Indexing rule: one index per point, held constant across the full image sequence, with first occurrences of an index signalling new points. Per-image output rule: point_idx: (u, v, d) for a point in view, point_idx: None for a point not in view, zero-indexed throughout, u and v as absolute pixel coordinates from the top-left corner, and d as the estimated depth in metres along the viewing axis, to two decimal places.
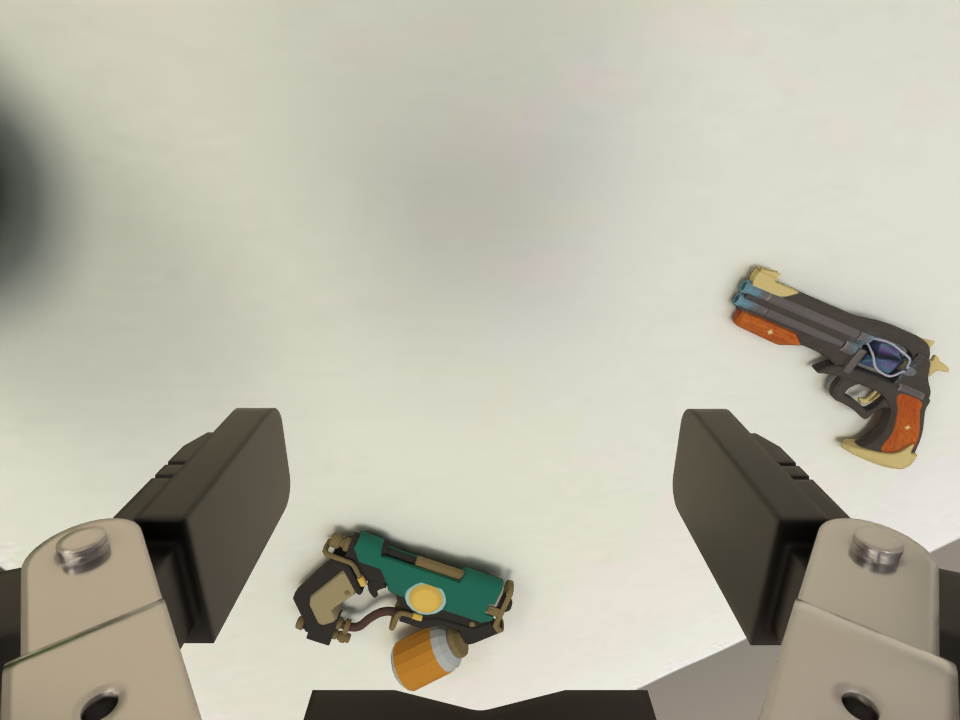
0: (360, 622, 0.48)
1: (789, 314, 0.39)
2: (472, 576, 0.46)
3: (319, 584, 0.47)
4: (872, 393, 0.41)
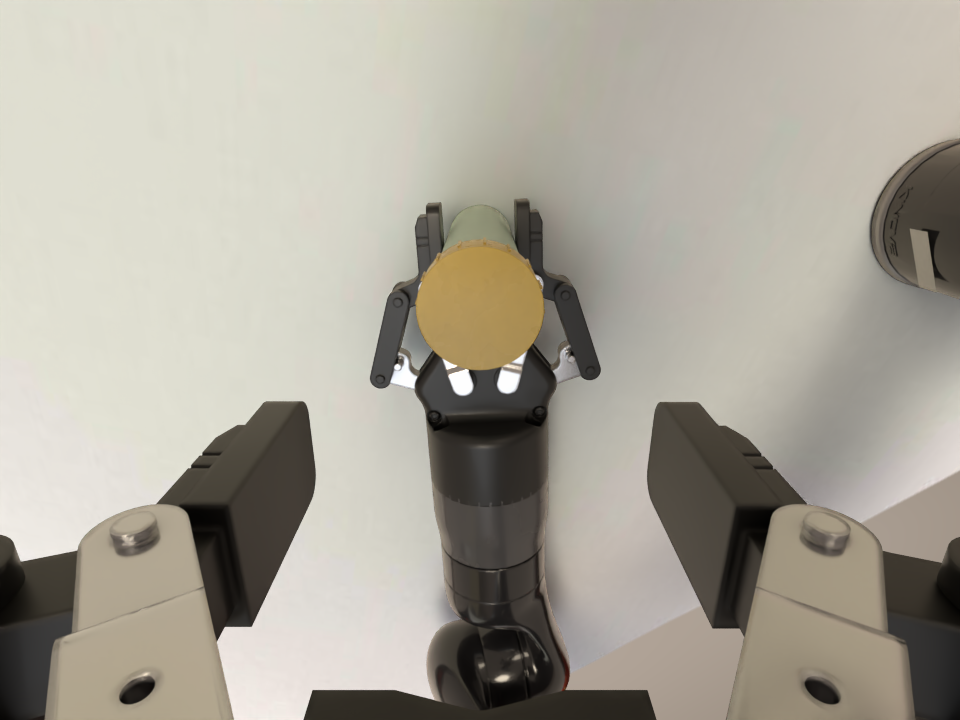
0: None
1: None
2: None
3: None
4: None
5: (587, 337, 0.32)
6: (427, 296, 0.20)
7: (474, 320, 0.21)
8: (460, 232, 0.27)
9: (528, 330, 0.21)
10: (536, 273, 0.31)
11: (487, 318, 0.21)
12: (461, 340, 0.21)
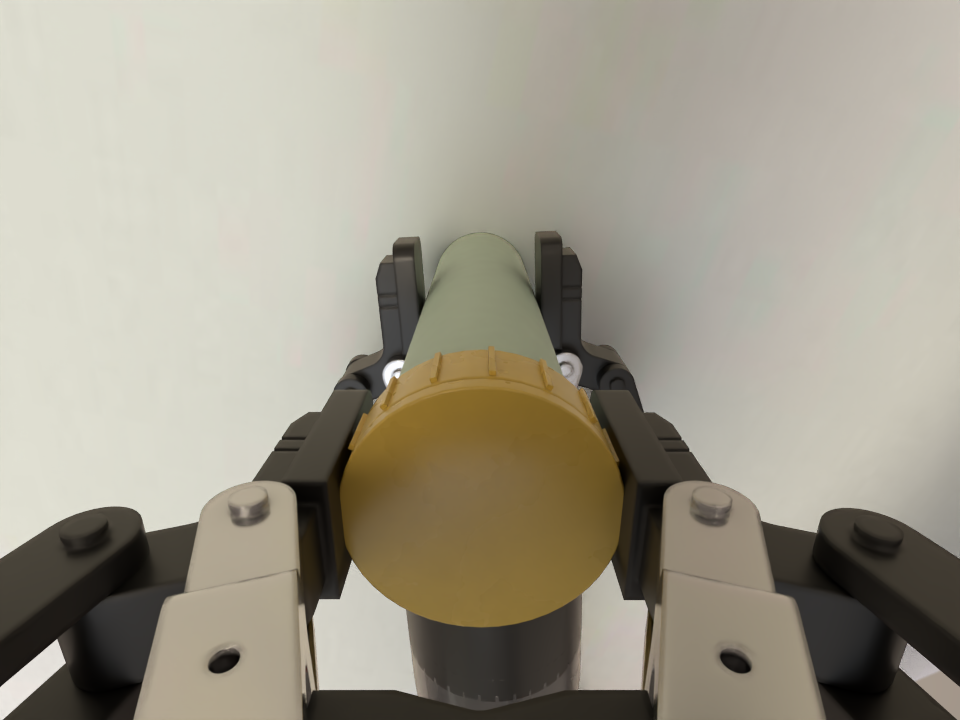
0: None
1: None
2: None
3: None
4: None
5: None
6: (362, 490, 0.09)
7: (469, 536, 0.09)
8: (446, 298, 0.15)
9: (588, 555, 0.09)
10: (570, 350, 0.19)
11: (498, 532, 0.09)
12: (440, 574, 0.10)
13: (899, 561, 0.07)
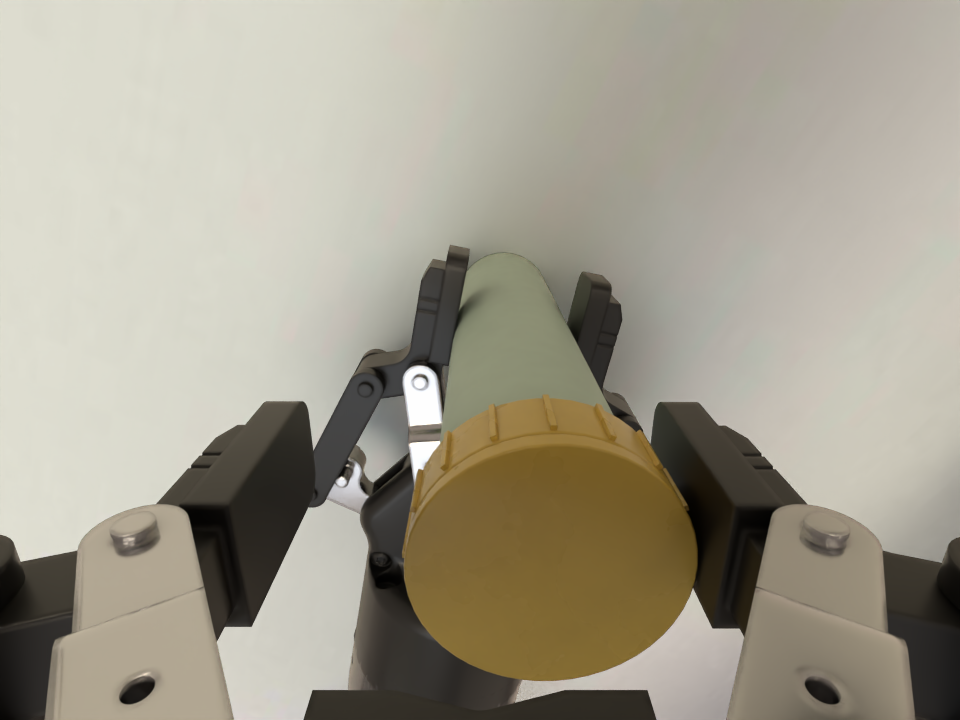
0: None
1: None
2: None
3: None
4: None
5: None
6: (447, 626, 0.09)
7: (558, 592, 0.09)
8: (503, 322, 0.15)
9: (665, 528, 0.09)
10: None
11: (575, 572, 0.09)
12: (571, 635, 0.09)
13: None
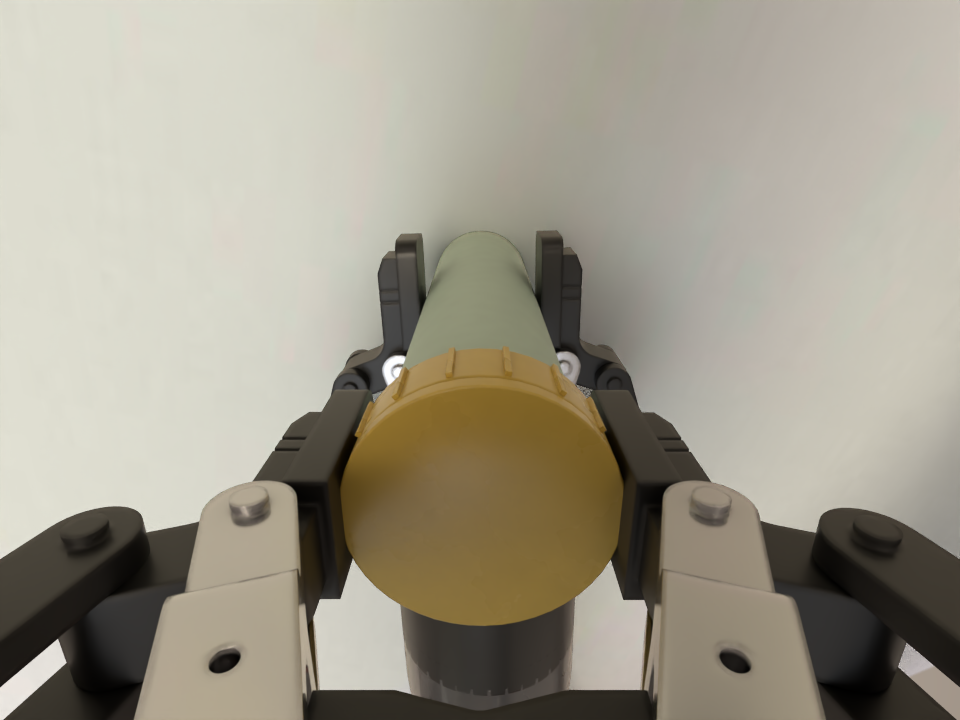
0: None
1: None
2: None
3: None
4: None
5: None
6: (401, 585, 0.10)
7: (495, 534, 0.09)
8: (448, 294, 0.15)
9: (579, 451, 0.09)
10: (569, 348, 0.19)
11: (505, 511, 0.09)
12: (521, 573, 0.10)
13: (898, 561, 0.07)
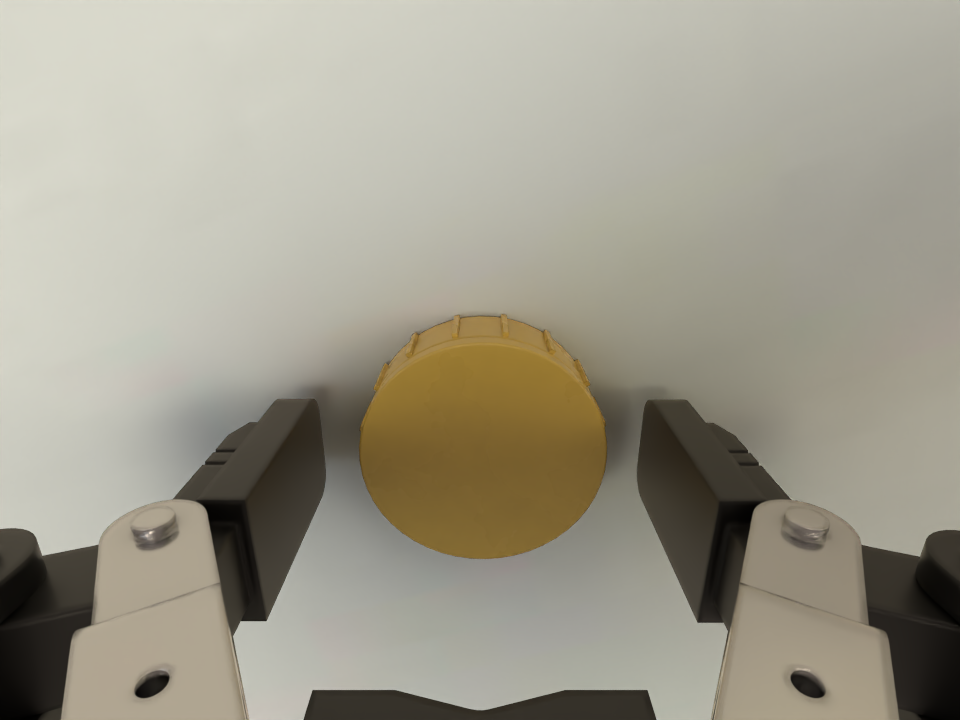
0: None
1: None
2: None
3: None
4: None
5: None
6: (412, 521, 0.11)
7: (494, 475, 0.11)
8: None
9: (566, 401, 0.10)
10: None
11: (503, 455, 0.11)
12: (516, 510, 0.11)
13: None
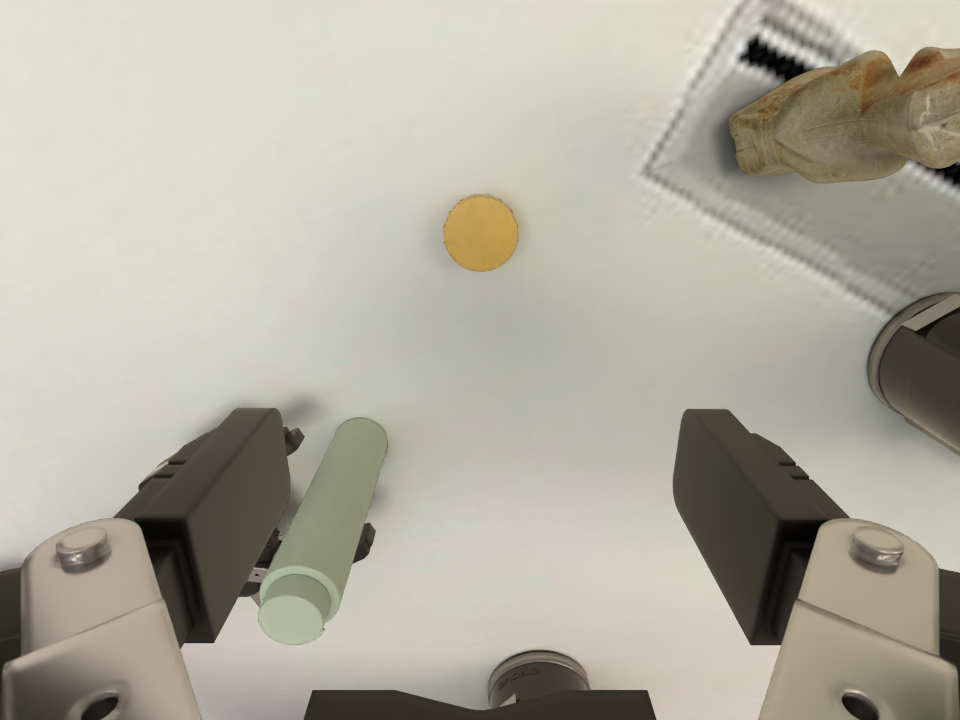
0: None
1: None
2: None
3: None
4: None
5: None
6: (459, 257, 0.36)
7: (484, 240, 0.36)
8: (344, 507, 0.33)
9: (504, 215, 0.35)
10: None
11: (486, 233, 0.36)
12: (491, 253, 0.36)
13: None
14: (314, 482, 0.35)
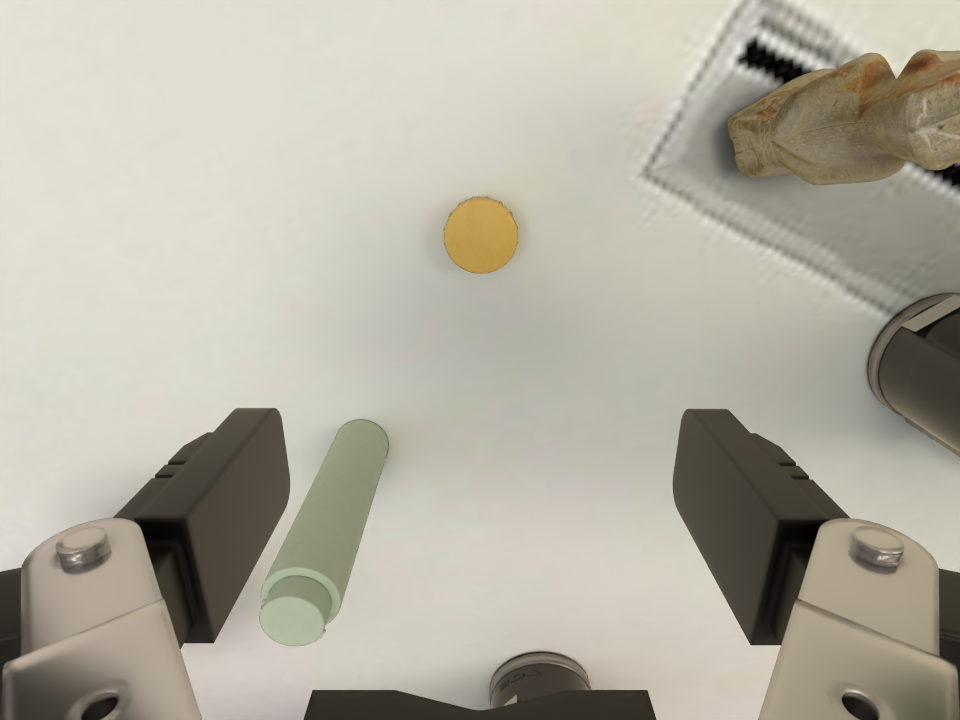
0: None
1: None
2: None
3: None
4: None
5: None
6: (459, 259, 0.37)
7: (484, 243, 0.36)
8: (345, 508, 0.33)
9: (504, 217, 0.36)
10: None
11: (486, 235, 0.36)
12: (491, 255, 0.36)
13: None
14: (315, 484, 0.35)
